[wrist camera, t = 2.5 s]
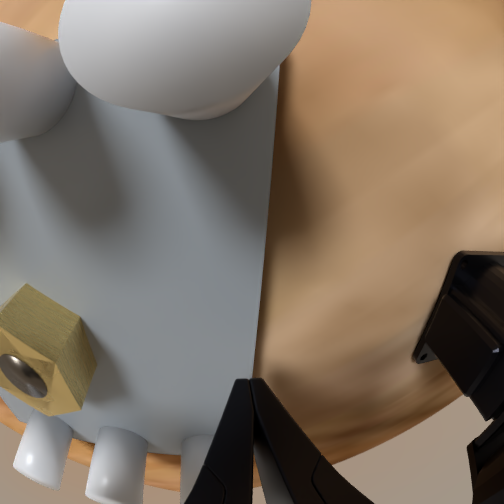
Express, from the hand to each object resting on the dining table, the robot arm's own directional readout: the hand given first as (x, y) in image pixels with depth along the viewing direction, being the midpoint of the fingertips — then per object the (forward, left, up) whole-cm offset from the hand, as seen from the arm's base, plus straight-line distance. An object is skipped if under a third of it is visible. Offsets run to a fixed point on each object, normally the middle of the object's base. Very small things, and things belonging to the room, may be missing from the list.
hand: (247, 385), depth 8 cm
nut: (+8, 0, -2) cm, 8 cm away
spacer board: (+8, 0, -3) cm, 8 cm away
